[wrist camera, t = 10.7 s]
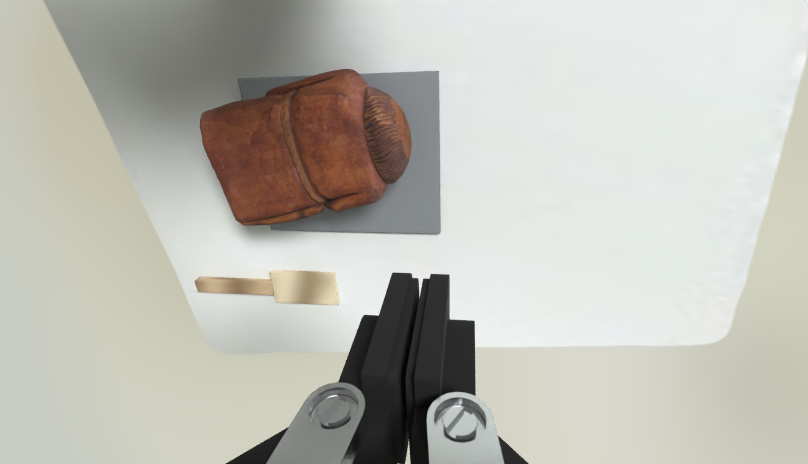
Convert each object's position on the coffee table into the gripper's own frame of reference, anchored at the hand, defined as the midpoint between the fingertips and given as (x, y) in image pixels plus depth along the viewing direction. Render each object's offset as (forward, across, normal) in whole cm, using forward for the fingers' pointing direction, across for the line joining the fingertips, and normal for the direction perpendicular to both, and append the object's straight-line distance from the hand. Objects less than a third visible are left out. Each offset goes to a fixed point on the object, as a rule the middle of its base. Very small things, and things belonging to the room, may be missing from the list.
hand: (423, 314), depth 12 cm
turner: (+29, +22, +20) cm, 42 cm away
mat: (+29, +11, +4) cm, 31 cm away
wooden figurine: (+25, +22, +4) cm, 34 cm away
